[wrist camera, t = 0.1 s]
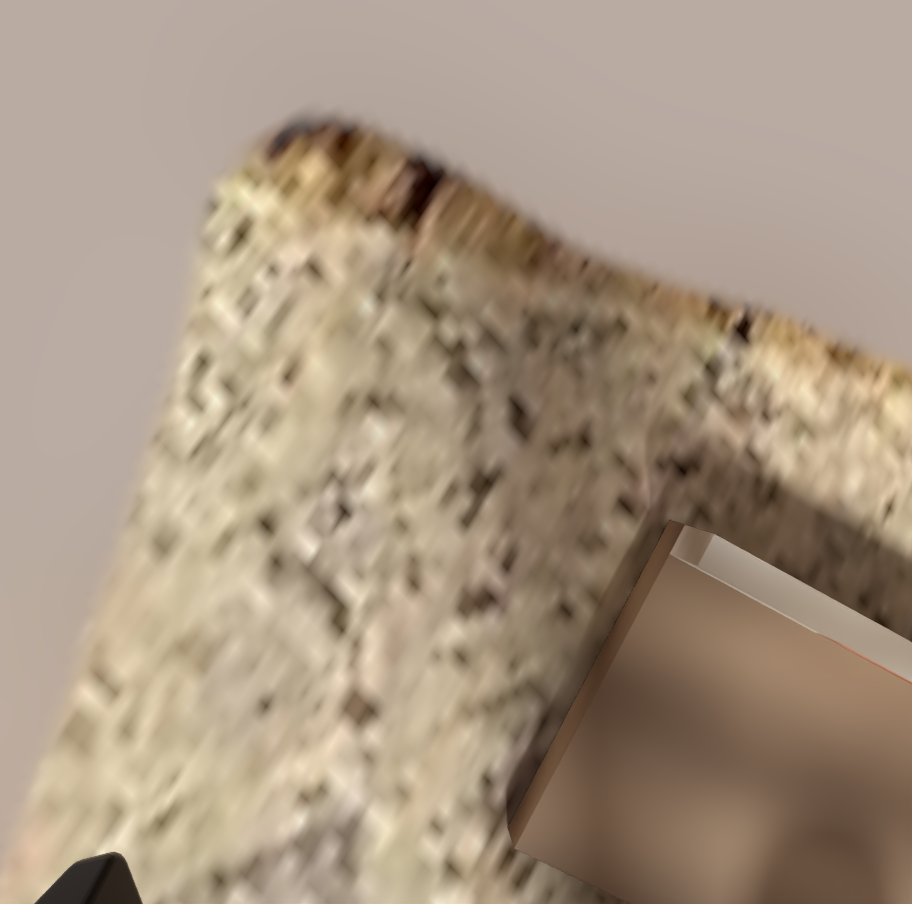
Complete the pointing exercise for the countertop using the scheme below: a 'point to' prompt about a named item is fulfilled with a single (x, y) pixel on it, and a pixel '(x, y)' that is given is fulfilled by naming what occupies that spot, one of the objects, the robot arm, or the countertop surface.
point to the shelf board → (732, 744)
